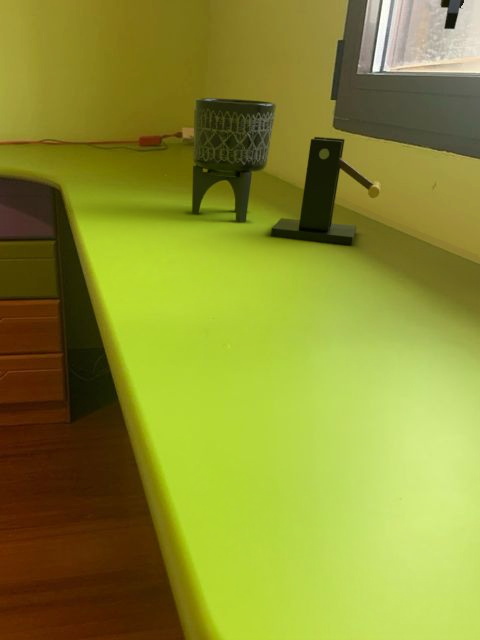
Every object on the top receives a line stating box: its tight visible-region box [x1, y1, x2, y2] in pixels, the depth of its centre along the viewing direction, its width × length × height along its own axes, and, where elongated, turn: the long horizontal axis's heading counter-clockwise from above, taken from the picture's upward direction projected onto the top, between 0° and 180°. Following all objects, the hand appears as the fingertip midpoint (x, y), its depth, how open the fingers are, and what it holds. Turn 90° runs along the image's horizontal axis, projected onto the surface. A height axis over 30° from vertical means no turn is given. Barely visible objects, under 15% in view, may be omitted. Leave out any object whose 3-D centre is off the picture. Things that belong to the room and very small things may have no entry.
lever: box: [324, 139, 382, 199], centre depth 101 cm, size 11×6×2 cm
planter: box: [191, 97, 277, 223], centre depth 114 cm, size 13×13×18 cm
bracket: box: [270, 136, 357, 246], centre depth 104 cm, size 12×9×14 cm
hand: (451, 21), depth 102 cm, fingers closed
